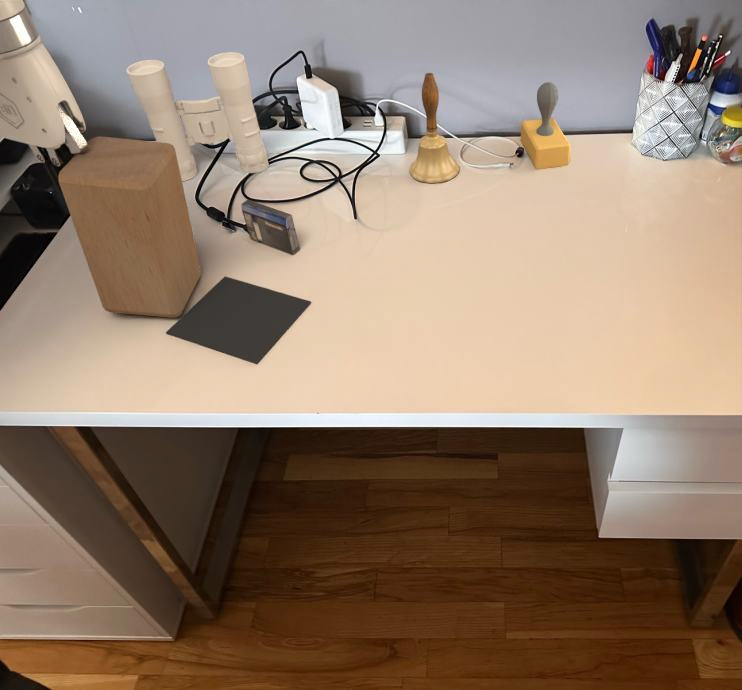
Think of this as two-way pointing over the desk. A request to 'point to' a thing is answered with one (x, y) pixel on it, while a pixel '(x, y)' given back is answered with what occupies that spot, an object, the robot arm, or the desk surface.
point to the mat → (239, 319)
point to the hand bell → (432, 143)
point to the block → (133, 225)
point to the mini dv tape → (270, 227)
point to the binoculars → (202, 112)
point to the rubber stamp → (545, 132)
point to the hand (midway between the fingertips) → (74, 188)
